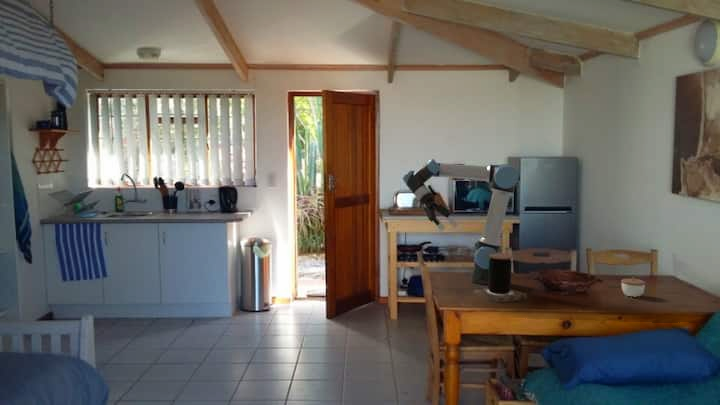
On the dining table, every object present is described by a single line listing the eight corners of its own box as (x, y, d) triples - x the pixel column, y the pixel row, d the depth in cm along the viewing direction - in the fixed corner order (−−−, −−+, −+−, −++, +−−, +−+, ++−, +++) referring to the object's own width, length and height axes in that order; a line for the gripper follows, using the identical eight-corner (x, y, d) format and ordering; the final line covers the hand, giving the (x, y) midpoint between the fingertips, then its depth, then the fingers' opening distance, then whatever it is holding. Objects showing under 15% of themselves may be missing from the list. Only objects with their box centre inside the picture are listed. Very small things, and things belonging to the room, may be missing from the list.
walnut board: (501, 290, 301) (501, 286, 301) (526, 298, 285) (526, 294, 285) (473, 294, 292) (473, 289, 292) (498, 302, 276) (498, 298, 276)
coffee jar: (510, 289, 293) (511, 254, 291) (510, 295, 282) (511, 258, 281) (488, 288, 295) (489, 252, 293) (487, 293, 285) (488, 256, 283)
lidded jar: (621, 297, 290) (622, 278, 289) (619, 292, 300) (621, 274, 299) (645, 299, 286) (646, 280, 285) (643, 294, 296) (644, 276, 295)
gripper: (432, 199, 317) (456, 230, 309) (407, 202, 297) (432, 235, 290) (441, 190, 313) (465, 220, 306) (416, 192, 293) (442, 225, 286)
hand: (449, 228), depth 298 cm, fingers open, 13 cm apart
